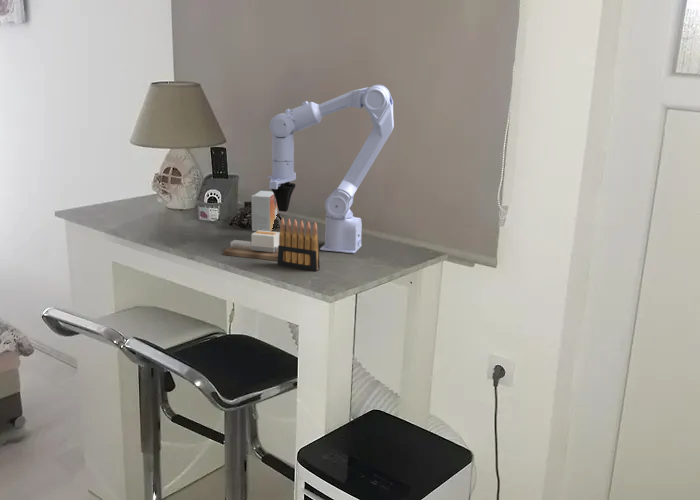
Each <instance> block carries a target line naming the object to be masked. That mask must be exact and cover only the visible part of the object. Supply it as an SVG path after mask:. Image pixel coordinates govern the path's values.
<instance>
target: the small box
mask: <svg viewBox="0 0 700 500" xmlns="http://www.w3.org/2000/svg"><path fill="white" fill-rule="evenodd" d="M250 199H251V231H252V232H256V231H258V230H263V231H273V230H274V229H272V228H273V224H274V220H275V219H276V217H277V216H276V215H277V214H278V213H279V210H278V206H277V202H276V198H275V196H274V193H273V191H272V190H271V191H269V190H259V191H258V192H256V193H254V194H253V195H251V197H250ZM278 215H279V214H278Z"/></svg>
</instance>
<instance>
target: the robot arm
mask: <svg viewBox="0 0 700 500" xmlns="http://www.w3.org/2000/svg"><path fill="white" fill-rule="evenodd" d="M301 104H302V105H299V106H298V107H297V106H296V107H294V108H291V109H290V108H286V109H285V111H284V112H282V113H277V114H276V115H275V116H273V117H272V118H271V119H270V121H269V130H270V132H271V134H272V135H271V139H272V140H271V173H272V174H271V175H268V176H267V179H268V180H270V181H269V182H268V183H269V185H268V186H269V190H271V191H272V192H273V193H274V196H275V198H276V202H277V206H278V212H287V211H288V209H289V206H290V203H291V197H292V195H293V192H294V189H295V188H296V183H291V182H294V181H295V180H296V179H297V174H296V172H295V156H294V155H295V142H294V132H300V131H303V130H305V129H308V128H311V127H314V126H315V125H319V124H320V123H321V122H322V118H323V117H324V116H327V115H329V114H333V113H335V112H338V111H342V110H345V109H347V108H351V107H352V108H357V109H362V108H364V109H365V110H366V112H367V113H368V115H369V116H370V120H371V123H372V127H373V128H372V129H371V132H370V133H369V135H368V137H367V138H366V140H365V141H364V143H363V146H362V147H361V149H360V150H359V152H358V153H357V155H356V157H355V158H354V160H353V162H352V164H351V166H350V167H349V169H348V170H347V172H346V174H345V175H344V177H343V179H342V181H341V182H340V183H339V185H338V187H337V188H334V190H333V191H332V192H331V193H330V195H329V196H328V197H327V198H326V200H325V203H324V209H325V211H326V213H325V221H324V222H325V224H324V225H325V229H324V230H325V233H324V234H325V235H324V237H325V239H324V242H325V243H324V244H323V245H322V246H321V247H320V248H319V251H329V252H337V253H347V254H355V253H357V251H358V250H359V249H360V248H361V247H362V231H363V230H362V229H363V228H362V227H363V225H362V218H361V217H356V216H354V213H353V211H352V210H351V207H352V205H353V203H354V197H355V193H356V192H357V190H358V189H359V187H360V185H361V183H362V182H363V181H364V179H365V177H366V175H367V174H368V172H369V170H370V169H371V168H372V166H373V164H374V162H375V160H376V159H377V157H378V155H379V154H380V152H381V151H382V149H383V147H384V145H385V143H386V142H387V141H388V139H389V137H390V136H391V134H392V132H393V130H394V127H395V121H394V100H393V98H392V95H391V92H390V91H389V89H388V88H387V87H386V86H384V85H382V84H374V85H372V86H370V87H363V88H359V89H354V90H351V91H348V92H346V93H344V94H342V95H339V96H337V97H334V98H332V99H329V100H327V101H324V102H323V103H320V104H319V103H316V102H313V101H310V102H309V101H308V100H306V101H304V102H302V103H301Z"/></svg>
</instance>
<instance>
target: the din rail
mask: <svg viewBox="0 0 700 500" xmlns="http://www.w3.org/2000/svg"><path fill="white" fill-rule="evenodd" d="M278 246H279V244H278V245H277V246H276V247H275V252H274V253H278ZM230 247H231V248H236V249H246V250H252V241H247V240H242V239H241V240H238V239H233V240H231V241H230Z"/></svg>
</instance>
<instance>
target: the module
mask: <svg viewBox="0 0 700 500" xmlns="http://www.w3.org/2000/svg"><path fill="white" fill-rule="evenodd" d="M279 234H280V231H273V230H272V231H263V230H258V231H253V232H252V234H251V236H250V237H251V242H252V250H255V251H264V252H273V253H274V252H275V247H276V246H277V245H278V244H279Z"/></svg>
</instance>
